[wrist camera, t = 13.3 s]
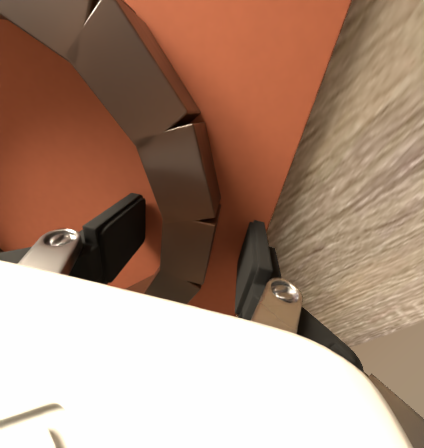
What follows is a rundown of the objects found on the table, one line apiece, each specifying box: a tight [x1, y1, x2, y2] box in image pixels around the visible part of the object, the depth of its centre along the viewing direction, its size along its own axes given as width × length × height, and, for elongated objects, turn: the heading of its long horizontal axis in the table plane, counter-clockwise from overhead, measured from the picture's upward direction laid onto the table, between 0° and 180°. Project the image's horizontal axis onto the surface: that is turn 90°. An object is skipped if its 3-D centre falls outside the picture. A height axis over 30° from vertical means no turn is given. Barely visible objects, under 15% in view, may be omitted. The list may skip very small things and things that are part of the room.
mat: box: [0, 0, 352, 317], centre depth 12 cm, size 26×26×1 cm
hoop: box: [0, 0, 221, 305], centre depth 11 cm, size 20×20×2 cm
